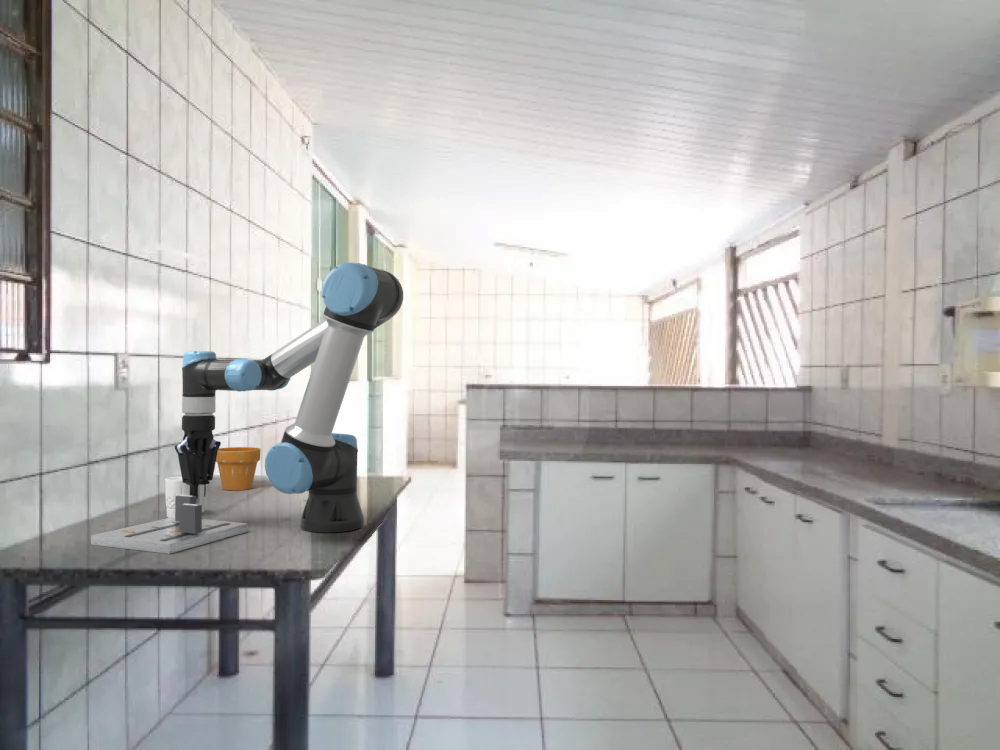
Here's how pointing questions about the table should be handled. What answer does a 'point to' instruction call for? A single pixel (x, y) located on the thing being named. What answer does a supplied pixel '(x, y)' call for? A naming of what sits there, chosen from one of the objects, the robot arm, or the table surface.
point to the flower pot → (237, 466)
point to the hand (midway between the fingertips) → (197, 511)
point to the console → (167, 535)
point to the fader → (190, 518)
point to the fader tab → (182, 500)
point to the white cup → (174, 493)
